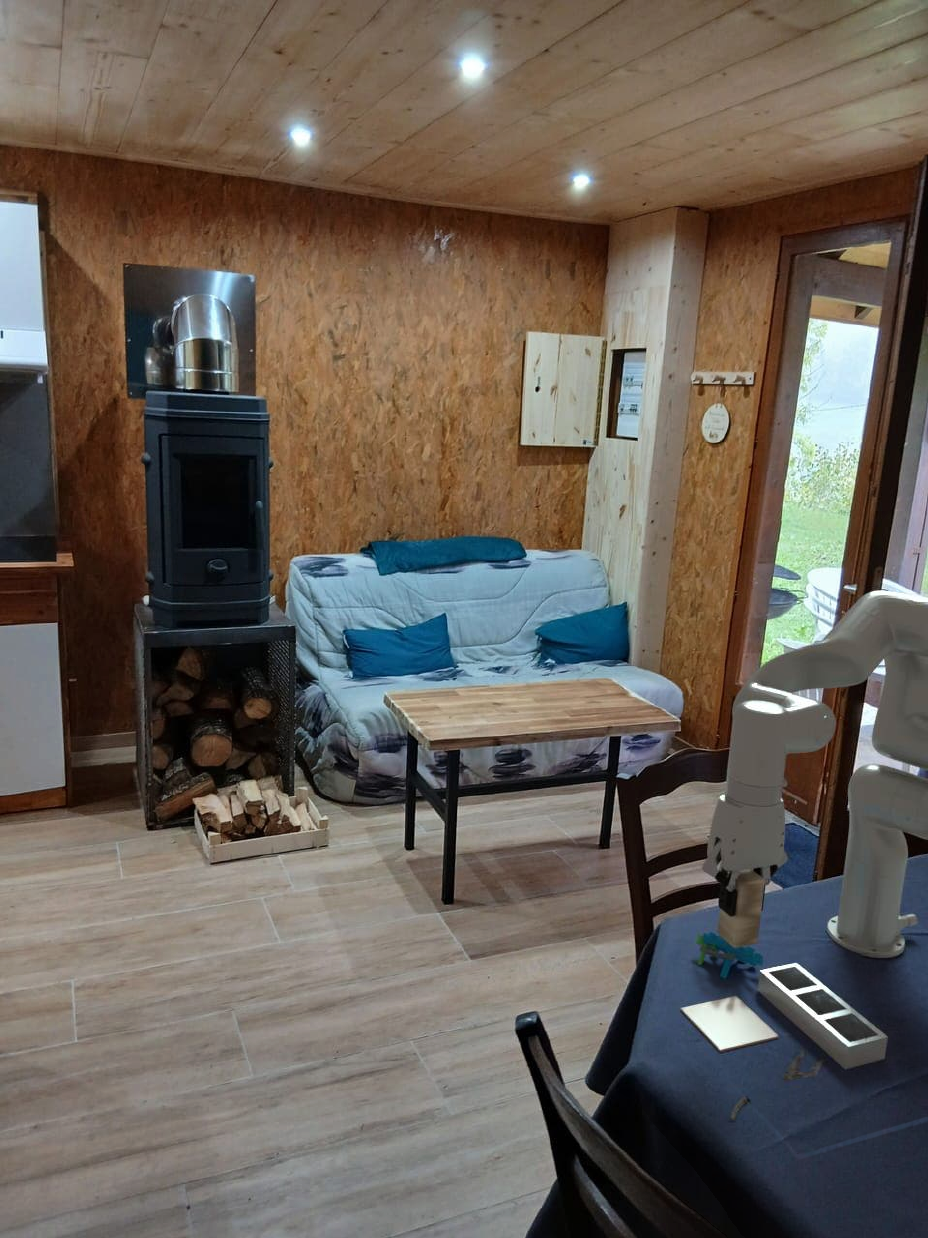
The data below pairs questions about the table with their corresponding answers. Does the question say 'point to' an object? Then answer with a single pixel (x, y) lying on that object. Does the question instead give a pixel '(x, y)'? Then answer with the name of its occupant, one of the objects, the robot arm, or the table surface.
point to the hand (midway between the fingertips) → (740, 908)
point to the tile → (729, 1023)
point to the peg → (744, 911)
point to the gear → (726, 952)
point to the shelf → (823, 1016)
